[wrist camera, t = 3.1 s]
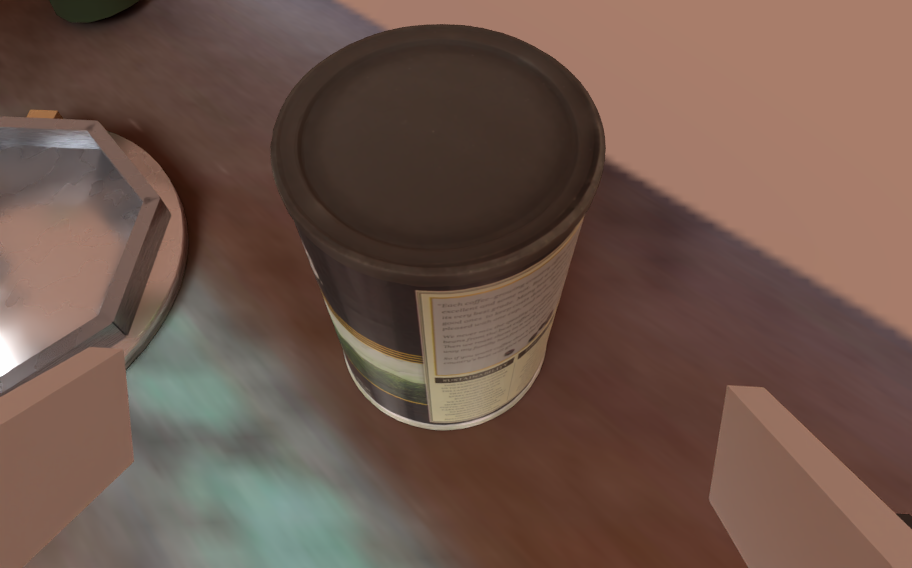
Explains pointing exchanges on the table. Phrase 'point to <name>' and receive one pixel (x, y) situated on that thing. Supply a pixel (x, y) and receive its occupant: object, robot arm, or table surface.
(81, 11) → the character mug
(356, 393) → the table surface
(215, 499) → the table surface
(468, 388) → the coffee can
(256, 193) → the table surface
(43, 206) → the locking base
